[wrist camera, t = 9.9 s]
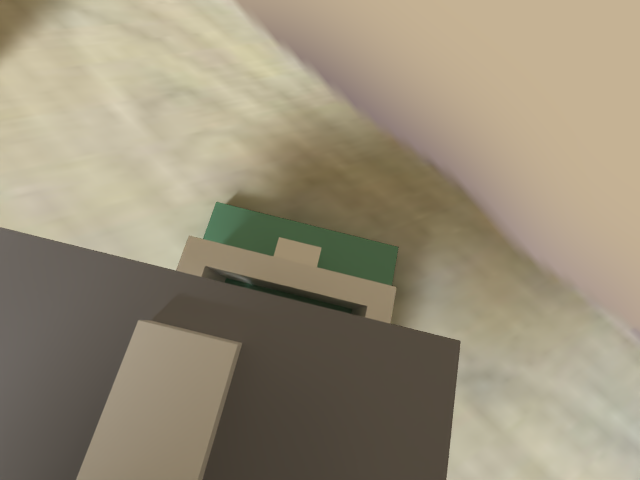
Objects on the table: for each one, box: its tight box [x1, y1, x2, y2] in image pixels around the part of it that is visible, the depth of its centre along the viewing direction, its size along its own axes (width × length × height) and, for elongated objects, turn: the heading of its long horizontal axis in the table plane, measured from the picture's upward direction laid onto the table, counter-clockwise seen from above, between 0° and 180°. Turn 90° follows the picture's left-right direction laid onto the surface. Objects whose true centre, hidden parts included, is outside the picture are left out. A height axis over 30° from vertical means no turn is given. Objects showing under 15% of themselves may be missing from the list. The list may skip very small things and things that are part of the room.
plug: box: [0, 227, 460, 480], centre depth 8 cm, size 4×4×13 cm
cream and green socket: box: [176, 202, 398, 324], centre depth 13 cm, size 14×10×4 cm
